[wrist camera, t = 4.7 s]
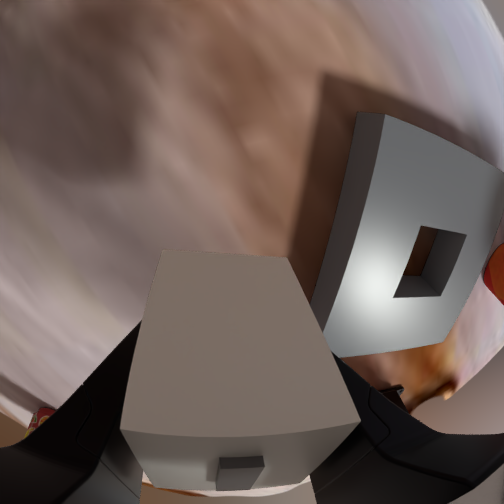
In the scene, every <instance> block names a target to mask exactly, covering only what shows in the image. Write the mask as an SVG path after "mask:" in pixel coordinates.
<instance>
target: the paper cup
mask: <svg viewBox="0 0 504 504" xmlns="http://www.w3.org/2000/svg"><path fill="white" fill-rule="evenodd" d="M484 283H485V285H486V286H487V287H488V289H489V290H490V291H491V292H492V293H493V294H494V295H495V296H496V297H497V299H498V300H499V301H500V302H501V303H502V304H503V305H504V243H503V244H501V245H500V246H499V247H498V248H497V249H496V250H495V252H494V253H493V255H492V256H491V258H490V260H489V262H488V264H487V267H486V270H485V273H484Z"/></svg>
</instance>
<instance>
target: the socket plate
mask: <svg viewBox="0 0 504 504" xmlns="http://www.w3.org/2000/svg"><path fill="white" fill-rule="evenodd" d="M503 212H504V172H502V171H500V170H499V169H497V168H496V167H494V166H492V165H491V164H489V163H487V162H486V161H484V160H482V159H481V158H479V157H477V156H475V155H474V154H472V153H470V152H468V151H466V150H465V149H463V148H461V147H459V146H457V145H455V144H453V143H451V142H449V141H447V140H445V139H443V138H441V137H439V136H437V135H434V134H432V133H430V132H428V131H426V130H423V129H421V128H419V127H416V126H414V125H412V124H409V123H407V122H404V121H402V120H399V119H397V118H394V117H392V116H389V115H386V114H378V113H367V112H357V117H356V123H355V128H354V133H353V138H352V144H351V148H350V153H349V158H348V163H347V167H346V172H345V177H344V181H343V185H342V190H341V194H340V198H339V202H338V206H337V210H336V214H335V218H334V222H333V226H332V230H331V234H330V237H329V241H328V245H327V248H326V252H325V255H324V259H323V263H322V266H321V269H320V273H319V276H318V280H317V283H316V286H315V289H314V293H313V296H312V299H311V302H310V307H311V309H312V311H313V313H314V316H315V318H316V320H317V322H318V324H319V326H320V329H321V331H322V333H323V335H324V337H325V340H326V342H327V344H328V346H329V348H330V350H331V351H332V352H333V353H334V354H335V355H337V356H338V357H339V358H340V357H351V356H360V355H368V354H376V353H383V352H390V351H397V350H403V349H409V348H415V347H420V346H426V345H431V344H436V343H441V342H443V341H444V339H445V338H446V336H447V335H448V333H449V331H450V330H451V328H452V326H453V324H454V323H455V321H456V319H457V318H458V316H459V314H460V312H461V310H462V309H463V307H464V305H465V303H466V301H467V299H468V297H469V295H470V293H471V291H472V289H473V287H474V285H475V283H476V281H477V279H478V277H479V274H480V272H481V270H482V268H483V265H484V263H485V261H486V258H487V256H488V254H489V251H490V249H491V246H492V243H493V241H494V238H495V235H496V233H497V230H498V227H499V224H500V221H501V218H502V215H503ZM421 225H422V226H427V227H432V228H437V229H438V232H437V235H436V238H435V241H434V243H433V246H432V249H431V251H430V254H429V256H428V259H427V261H426V264H425V266H424V269H423V271H422V273H421V276H406V275H403V272H404V270H405V267H406V265H407V262H408V260H409V257H410V255H411V252H412V249H413V246H414V244H415V241H416V238H417V235H418V232H419V229H420V226H421Z"/></svg>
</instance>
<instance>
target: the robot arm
mask: <svg viewBox="0 0 504 504" xmlns="http://www.w3.org/2000/svg"><path fill="white" fill-rule="evenodd" d="M141 322H142V320H141V321H140V322H139V323H138V324H137V326H136V327H135V328H134V329H133V330H132V331H131V332H130V333H129V334H128V335H127V336H126V337H125V338H124V339H123V340H122V341H121V342H120V343H119V344H118V346H117V347H116V348H115V349H114V350H113V351H112V352H111V353H110V354H109V355H108V356H107V357H106V358H105V359H104V361H103V362H102V363H101V364H100V365H99V366H98V367H97V368H96V369H95V370H94V371H93V372H92V374H91V375H90V376H89V377H88V378H87V379H86V380H85V381H84V382H83V385H81V386H80V387H79V388H78V389H77V390H76V391H75V392H74V393H73V394H72V395H71V396H70V397H69V398H68V400H67V401H66V402H65V403H64V404H63V405H62V406H60V407H59V408H58V409H57V410H56V411H55V412H54V413H53V414H52V415H51V416H50V417H48V418H47V419H46V420H45V421H44V422H43V423H42V424H40V425H39V426H38V427H37V428H36V429H35V430H34V431H32V432H31V433H30V434H29V435H28V436H27V437H25V438H24V439H23V440H21V441H20V442H18V443H16V444H14V445H11V446H7V447H1V448H0V504H140V500H139V499H140V493H141V484H142V475H143V469H142V467H141V466H140V464H139V462H138V461H137V459H136V457H135V456H134V454H133V452H132V450H131V449H130V447H129V445H128V443H127V442H126V440H125V438H124V436H123V434H122V432H121V430H120V424H121V418H122V412H123V406H124V400H125V395H126V389H127V384H128V379H129V374H130V370H131V365H132V360H133V356H134V351H135V347H136V343H137V339H138V334H139V330H140V326H141ZM330 351H331V350H330ZM331 353H332V355H333V357H334V359H335V362H336V364H337V366H338V368H339V371H340V373H341V375H342V378H343V380H344V382H345V384H346V387H347V389H348V391H349V394H350V396H351V398H352V401H353V403H354V405H355V408H356V410H357V412H358V415H359V417H360V419H361V422H360V423H359V424H358V425H357V426H356V427H355V429H354V430H353V431H352V432H351V433H350V434H349V435H348V436H347V438H346V439H345V440H344V441H343V442H342V443H341V444H340V445H339V446H338V447H337V448H336V449H335V450H334V451H333V452H332V453H331V454H330V455H329V456H328V457H327V458H326V459H325V460H324V461H323V462H322V463H321V464H320V465H319V466H318V467H317V468H316V469H315V470H314V471H313V472H312V473H311V474H309V475H310V479H311V483H312V486H313V490H314V493H315V498H316V502H317V504H504V433H501V434H487V435H465V434H462V435H461V434H445V433H441V432H437V431H435V430H433V429H431V428H429V427H428V426H426V425H425V424H423V423H422V422H420V421H419V420H417V419H415V418H414V417H412V416H411V415H410V414H409V413H408V411H407V409H406V407H405V405H404V403H403V402H402V400H401V398H400V395H401V393H402V392H403V391H404V388H403V387H398V388H394V389H390V390H385V391H381V392H379V391H377V390H376V389H375V388H374V387H373V386H370V384H369V383H368V382H367V381H366V380H364V379H363V378H362V377H361V376H360V375H359V374H357V373H356V372H355V371H354V370H353V369H352V368H350V367H349V366H348V365H347V364H346V363H345V362H344V361H342V360H341V359H340V358H339V357H338V356H337V355H335V354H334V353H333V352H332V351H331Z"/></svg>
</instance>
